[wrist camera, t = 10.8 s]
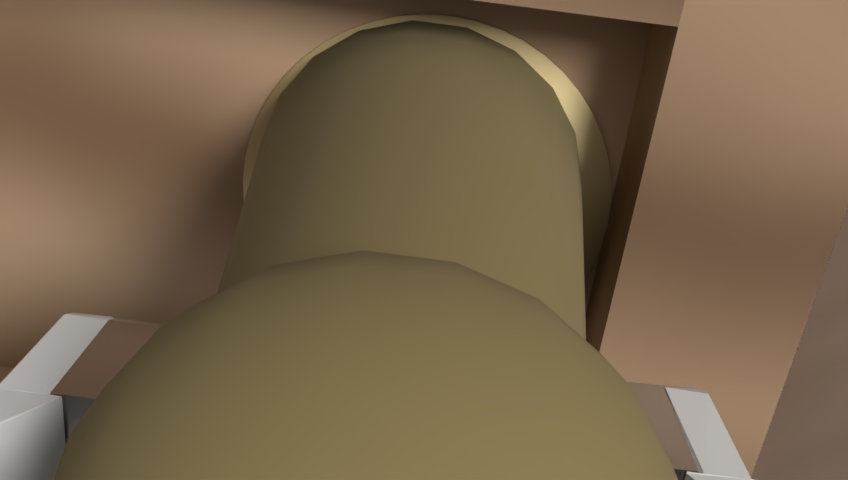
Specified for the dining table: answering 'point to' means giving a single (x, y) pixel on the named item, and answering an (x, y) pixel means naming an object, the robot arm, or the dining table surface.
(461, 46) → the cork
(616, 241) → the keyhole board
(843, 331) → the dining table surface
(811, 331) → the dining table surface
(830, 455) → the dining table surface
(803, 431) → the dining table surface
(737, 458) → the robot arm
